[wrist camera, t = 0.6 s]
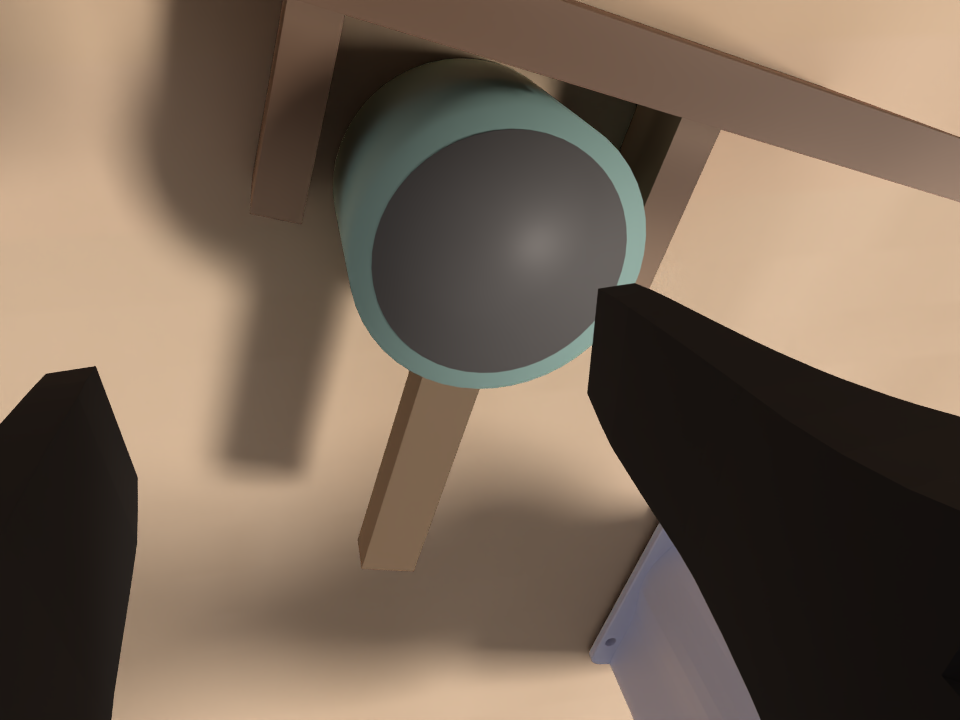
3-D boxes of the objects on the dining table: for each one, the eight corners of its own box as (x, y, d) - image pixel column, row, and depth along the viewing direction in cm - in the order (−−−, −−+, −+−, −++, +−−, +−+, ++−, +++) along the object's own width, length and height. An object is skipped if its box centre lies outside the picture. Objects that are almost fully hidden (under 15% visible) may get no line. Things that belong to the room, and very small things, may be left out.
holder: (730, 283, 25) (866, 402, 19) (60, 137, 18) (-36, 255, 13) (828, 88, 22) (1022, 160, 17) (76, -174, 15) (-40, -208, 10)
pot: (365, 22, 19) (392, 63, 14) (611, 97, 21) (695, 150, 17) (268, 465, 25) (267, 582, 21) (465, 483, 27) (501, 591, 23)
